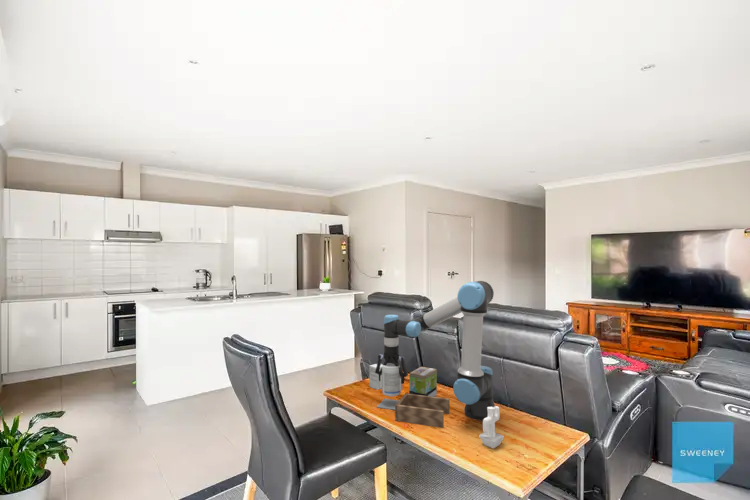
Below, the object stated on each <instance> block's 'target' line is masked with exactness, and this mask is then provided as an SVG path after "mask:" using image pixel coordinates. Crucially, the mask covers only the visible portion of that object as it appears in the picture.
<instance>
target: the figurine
mask: <svg viewBox="0 0 750 500" xmlns="http://www.w3.org/2000/svg"><path fill="white" fill-rule="evenodd" d="M487 411H488V416H487V417H486V418H484V419H483V421H482V431H483V432H482V433H479V434H478V437H479V438H480V440H481V441H482V444H483V445H484V446H487V447H489V448H491V449H495V448H497V447H498V446H500V445H501V443H502V442H503V440H504V437H505V436H504V435H502V434H501V433H497V432H496V422H497V421H499V420H500V411H501V410H500V407H499V406H497V405H495V407H487Z"/></svg>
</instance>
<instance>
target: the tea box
mask: <svg viewBox="0 0 750 500" xmlns="http://www.w3.org/2000/svg"><path fill="white" fill-rule="evenodd" d="M437 381H438V369H437V368H432V367H431V368H430V367H428V366H427V367H425V366H420V367H418V368H416V369H414V370H413V371H412V370H411V372H409V385H408V387H409V388H408V390H409V393H408V394H416V395H424V396H432V397H437V393H438V391H437V390H438V388H437V387H438V385H437V384H438V382H437Z"/></svg>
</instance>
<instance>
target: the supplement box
mask: <svg viewBox="0 0 750 500" xmlns="http://www.w3.org/2000/svg"><path fill="white" fill-rule="evenodd" d="M382 365H383V364H382V363H381V365H380V369H379V371H380V370H381V368H382ZM368 367H369V368H368V369H369V371H368V372H369V387H370V388H372V389H373V390H377V391H379V390H382V388H380V381H379V375H378V374H376V373H375V371H376V367H377V363H374V364H371V365H368Z"/></svg>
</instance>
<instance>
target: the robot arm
mask: <svg viewBox="0 0 750 500" xmlns="http://www.w3.org/2000/svg"><path fill="white" fill-rule="evenodd" d="M493 299H494V289H493V286H492V285H491V284H490V283H488V282H487V281H484V280H476V281H469V282H467V283H465V284H463V285H462V286H461V287H460V288H459V290H458V292H457V297H455V298H454V299H451V300H449V301H447V302H445V303H443V304H442V305H439V306H438V307H435V308H434V309H432V310H430V311H428V312H426V313H424V314H422V315H419V316H418V317H415V318H412V319H408V320H405V319H403V320H402V319H400V317H399V315H398V314H386V315H385V316H384V317H383V318H384V319H383V331H384V332H383V334H384V335H383V344H384V346H383V354H381V353H380V354H378V356H377V359H378V360H377V363H376V364H377V367H376V371H375V373H376V374H378V375H379V381H380V388H382V368H381V370H380V371H379V369H380V365H381V364H382V361H383V359H384V360H385V361H384V363H383V364H382V365H387V363H391V364H394V365H395V366H399V365H400V363H401V366H400V367H399V374H400V376H401V377H400V391H401V392H402V390H403V385H404V384H405V378H407V376H409V373H408V370H407V366H406V361H405V360H406V359H405V358H406V357H405V356H404V355H403V356H400V354H399V350H400V347H399V336H406V337H409V338H413V337H415V338H417V337H419V336H420V334H421V333H422V332H426V331H427V330H428V329H430V328H432V327H435V326H436V325H439V324H440V323H443V322H444V321H447V320H449V319H451V318H453V317H455V316H458V315H459V314H461V313H462V315H463V320H462V321H463V322H462V340H461V342H462V345H461V359H460V360H461V361H460V362H461V363H460V364H461V365H460V367H459V368H458V369H457V373H456V375H457V377H456V380H455V381H454V383H453V388H452V390H453V394H454V396H455V398H456V399H457V400H458V401H459V402H460V403H462V404H464V410H463V411H464V412H463V413H464V415H465V416H466V417H467V418H469V419H471V420H475V421H482V422H483V419H484V418H486V417H487V416H488V411H487V407H495V406H496V404H495V402H494V389H493V388H494V385H493V384H494V377H493V376H494V374H493V372H494V371H493V368H491V367H490V366H486V365H482V350H483V349H482V348H483V344H482V343H483V329H484V328H483V326H484V316H486V315H487V313H488V304H490V303H491V302H492V301H493ZM399 361H400V362H399Z"/></svg>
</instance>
